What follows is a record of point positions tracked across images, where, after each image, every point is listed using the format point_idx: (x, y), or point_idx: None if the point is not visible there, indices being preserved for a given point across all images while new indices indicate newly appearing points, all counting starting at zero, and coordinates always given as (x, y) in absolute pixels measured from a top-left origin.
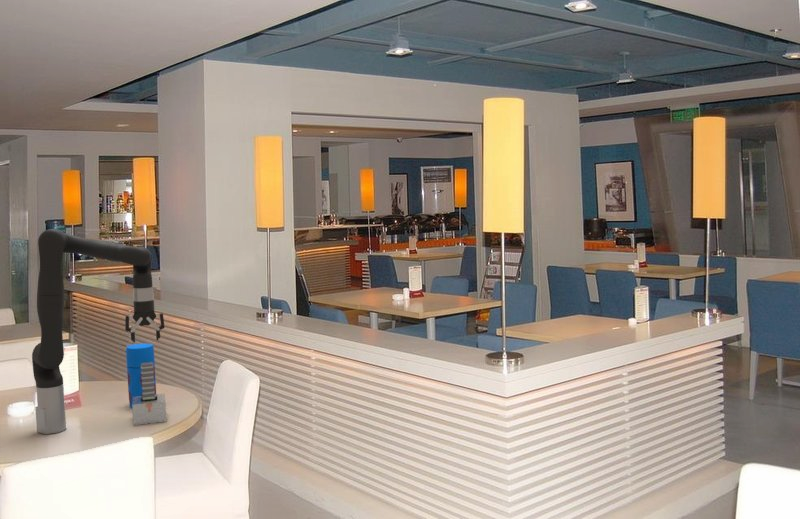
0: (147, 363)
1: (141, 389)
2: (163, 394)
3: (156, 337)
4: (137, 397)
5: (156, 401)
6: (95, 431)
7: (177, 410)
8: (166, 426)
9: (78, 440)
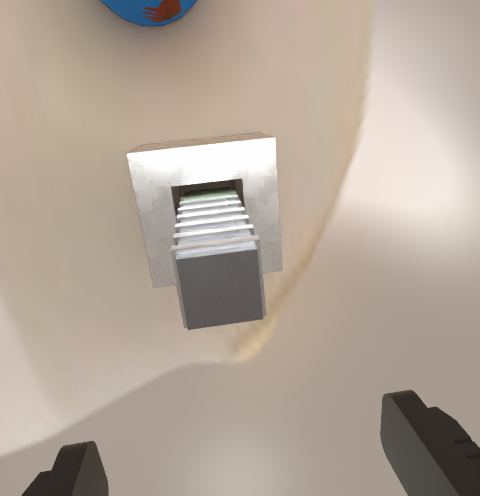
0: (225, 288)
1: (142, 3)
2: (269, 154)
3: (401, 481)
4: (152, 174)
5: None
6: (45, 291)
7: (301, 103)
8: (269, 290)
9: (22, 362)
